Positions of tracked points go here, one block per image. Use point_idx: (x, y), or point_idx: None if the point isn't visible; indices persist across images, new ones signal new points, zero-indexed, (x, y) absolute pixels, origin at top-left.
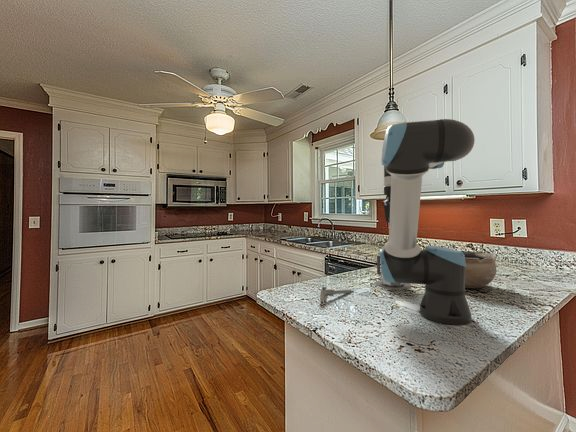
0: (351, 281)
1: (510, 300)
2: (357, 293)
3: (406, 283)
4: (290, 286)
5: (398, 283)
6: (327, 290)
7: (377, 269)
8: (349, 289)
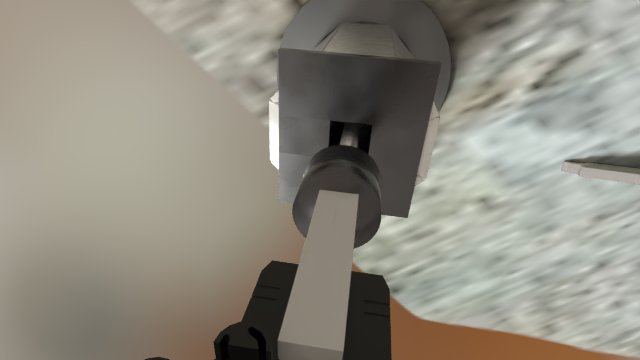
0: (415, 232)
1: None
2: (579, 137)
3: (298, 33)
4: (620, 342)
5: (395, 33)
6: None
7: None
8: (582, 176)
